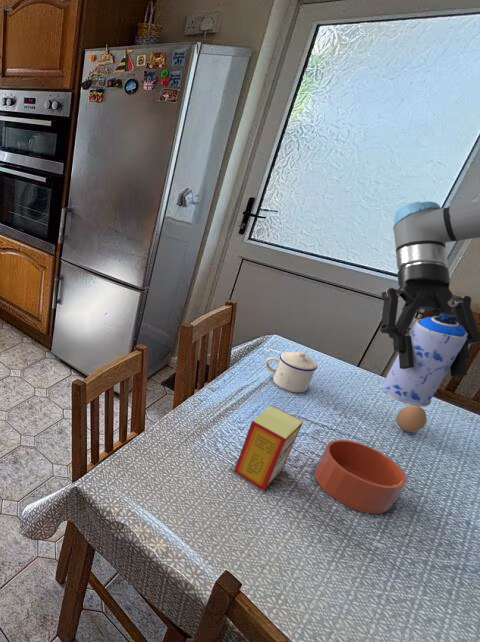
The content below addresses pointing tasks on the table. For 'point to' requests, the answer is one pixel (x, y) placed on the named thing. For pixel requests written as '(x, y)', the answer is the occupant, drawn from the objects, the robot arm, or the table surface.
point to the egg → (411, 418)
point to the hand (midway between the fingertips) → (432, 371)
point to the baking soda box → (267, 446)
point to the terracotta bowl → (359, 476)
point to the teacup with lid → (293, 371)
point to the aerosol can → (426, 360)
